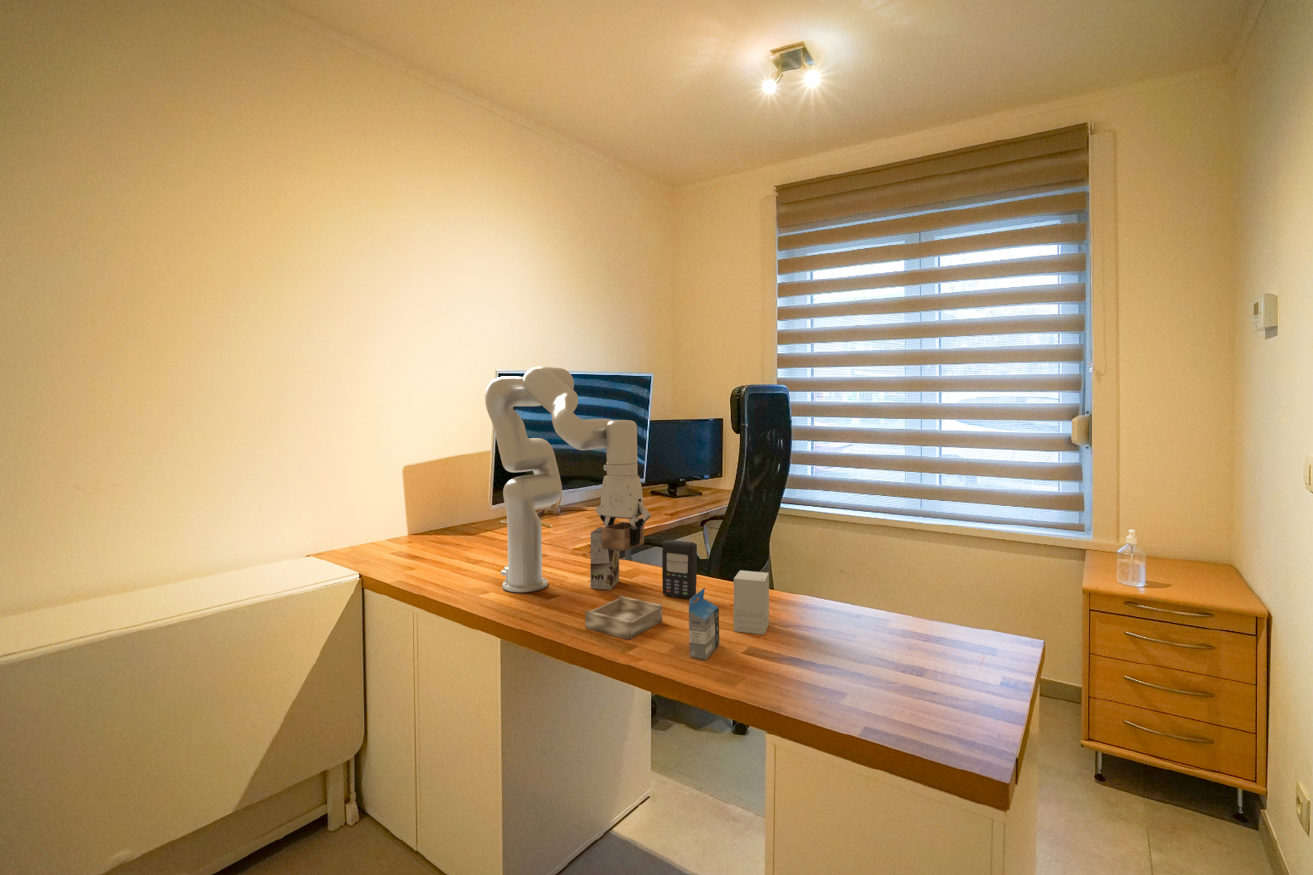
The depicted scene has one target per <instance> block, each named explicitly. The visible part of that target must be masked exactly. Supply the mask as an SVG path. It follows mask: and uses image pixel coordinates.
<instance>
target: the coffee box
mask: <svg viewBox="0 0 1313 875" xmlns="http://www.w3.org/2000/svg"><path fill="white" fill-rule="evenodd" d="M603 527H604V526H598V527H597V528H595V529H594V530H593V531H591V532H590V581H589V582H590V586H589V587H590V589H595V590H597V589H598V590H606V591H607V590H608V591H610V590H612V589H613V588H614V587H615V586H616V585H617V584H618V582H620V551H617V550H610V549H603V548H602V531H601V528H603Z"/></svg>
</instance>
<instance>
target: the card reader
mask: <svg viewBox="0 0 1313 875" xmlns="http://www.w3.org/2000/svg"><path fill="white" fill-rule="evenodd" d="M661 557H662V558H661V560H662V561H661V563H662V565H661V566H662V569H661V570H662V582H661V583H662V594H663V595H665V596H666V597H673V598H674V597H675V598H681V599H686V600H690V599H691V598H692V597H693V596H694V595H696V594H697V581H698V580H697V578H698V577H697V576H698V575H697V574H698V573H697V572H698V571H697V570H698V567H697V566H698V544H697V542H693V541H682V540H672V539H668V540H664V541H663V542H662V556H661Z"/></svg>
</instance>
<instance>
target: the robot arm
mask: <svg viewBox="0 0 1313 875" xmlns="http://www.w3.org/2000/svg"><path fill="white" fill-rule="evenodd" d="M574 381H575V380H574V378H573V376H572V374H571V373H570V371H568V370H566V369H565V368H563V367H562V368H561V367H552V366H551V367H550V366H549V367H548V366H535V367H532V368H530V369H529V370H527V371H526V372H525V374H524V375H523V376H516V375H515V376H500V377H496V378H495V379H492V380H491V381H490V382H489V384H488V385H487V387H486V391H485V396H484V401H485V407H486V411H487V414H488V416H489V419H490V421H491V423H492V426H493V430H494V433H495V438H496V443H497V447H498V453H499V455H500V456H499V457H500V460H501V463H502V464H501V465H502V467H503V469H504V470H506V471H507V472H509V473H523V472H532V473H533V474H527V475H520V476H515V477H513V478H511V479H508V481H507V482H506V483H505V484H504V487H503V489H502V490H503V491H502V494H503V502H504V506H505V511H506V513H505V514H506V520H507V521H506V523H507V527H506V528H507V530H506V531H507V566H505V567H504V568H503V570H501V571H500V575H501V576H503V577H504V576H505V580H504V581H503V582H502V588H503V590H505V591H507V592H510V593H511V592H512V593H531V592H536V591H541V590H543V589H545V588H546V587H547V586H548V579H547V578H546V577H543V553H542V552H543V551H542V550H543V549H542V548H543V547H542V546H543V542H542V541H543V540H542V539H543V534H542V533H543V531H542V530H543V528H542V521H541V519H540V516H539V515H538V513H537V511H536V509H537V508H542V507H548V506H551V505H552V506H553V505H555V504H557V503H558V502H559V501H560V500H561V497H562V493H563V485H562V481H561V476H560V471H559V467H558V463H557V460H556V454H555V452H554V449H553V446H552V445H551V444H550V443H549V441H548V440H546V439H544V438H539V437H531V438H529V437H528V434H527V432H526V431H527V430H526V425H525V423H524V421H523V419H522V417H521V415H520V414H518V412H517V411H516V410H515V409H514V407H541V406H542V407H543V408H544V409H545V410H547V411H548V412H549V413H550V414H551V422H552V426H553V428H554V431H555V433H556V434H557V435H558V436H559V437H560V439H562V440H563V441H564V442H565V443H566V444H568V445H569V446H570V447H572V448H574V449H576V450H579V451H588V450H589V451H590V450H604V449H606V450H605V453H606V454H605V455H606V457H605V458H606V464H604V465H603V470H604V471H605V472H606V475H604V476H603V479H602V480H603V481H602V486H601V492H600V504H599V505H598V506H597V507H596V508H595V512H596V513H597V515H598V516H599V517H600V520H601V521H602V522H603V525H604V526H603V527H606V526H610V525H613V524H615V521H616V519H624V520H625V519H626V520H629V522H630V523H631V526H632V529H631V530H630V545H631V546H635V545H638V544H639V543H640V528H642V526H643V524H644V525H645V524H646V523H647V521H648V520H649V518H651V515H652V514H651V512H650V511H649V510H648V509H647V507H646V506H645V505H644V498H643V488H642V482H641V477H640V476H639V474H638V428H637V423H636V422H635V421H633V420H629V419H616V420H615V419H610V418H589V419H583V418H580V417H579V416H577V415H576V414H575V413H574V412H575V410H576V409H577V406H578V403H579V397H578V396H579V395H578V394H577V392H576V391H575V390H574V387H575V382H574Z"/></svg>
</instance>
